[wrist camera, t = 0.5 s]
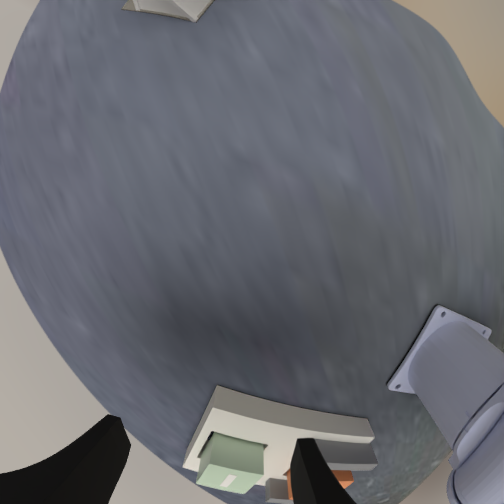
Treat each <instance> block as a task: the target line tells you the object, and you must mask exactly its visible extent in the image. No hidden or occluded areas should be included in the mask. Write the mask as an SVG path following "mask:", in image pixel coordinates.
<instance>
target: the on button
mask: <svg viewBox="0 0 504 504" xmlns="http://www.w3.org/2000/svg"><path fill="white" fill-rule="evenodd" d="M263 475H264V452H263V444H262V443H257V442H253V441H248V440H244V439H240V438H236V437H232V436H228V435H224V434H221V433H217V432H214V433H213V435H212V437H211V439H210V440H209V442H208V444H207V446H206V447H205V449H204V451H203V453H202V454H201V459H200V464H199V470H198V475H197V480H196V484H199V485H203V486H207V487H211V488H216V489H220V490H225V491H230V492H235V493H241V494H245V493H246V492H247V491H248V490H249V489H250V488H251V487H252V486H253V485H254V484H255V483H256V482H257V481H258V480H259V479H260V478H261V477H262V476H263Z"/></svg>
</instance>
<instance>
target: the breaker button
mask: <svg viewBox="0 0 504 504" xmlns="http://www.w3.org/2000/svg"><path fill="white" fill-rule="evenodd" d="M331 471H332V472H333V474H334V475H335V477H336V478H337V480H338V481H339V483H340V484H341V485H342V487H343V488H344V489H345V488H346V487H347V486H349V485H350V484H351V483H352V482H354V480H353V476H352V473H351V470H331ZM287 484H288V496H289V499H290V500H293V496H292V489H291V477H290V469H289V470H288V471H287Z"/></svg>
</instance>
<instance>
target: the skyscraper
mask: <svg viewBox="0 0 504 504" xmlns="http://www.w3.org/2000/svg"><path fill="white" fill-rule="evenodd" d="M214 1H215V0H128V1H127V3H126V4H125V5H124V6H123V8H122V10H129V11H138V12H145V13H152V14H158V15H164V16H169V17H174V18H179V19H183V20H188V21H192V22H196V23H197V21H198V20H199V19H200V17H201V16H202V15H203V14H204V12H205V11H206V10H207V9H208V8H209V6H210V5H211V4H212V3H213V2H214Z"/></svg>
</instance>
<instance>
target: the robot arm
mask: <svg viewBox="0 0 504 504" xmlns="http://www.w3.org/2000/svg"><path fill="white" fill-rule="evenodd" d="M442 312H443V314H442ZM441 314H442V315H441ZM490 335H491V329H490V328H488V327H486V326H484V325H482V324H480V323H478V322H475V321H473V320H471V319H469V318H467V317H465V316H463V315H460V314H458V313H456V312H454V311H452V310H450V309H447V308H445V307H443V306H441V305H438V306H436V307H435V308H434V310H433V311H432V313H431V315H430V317H429V319H428V321H427V323H426V324H425V326H424V328H423V330H422V331H421V333H420V335H419V336H418V338H417V340H416V342H415V343H414V345H413V346H412V348H411V350H410V351H409V353H408V354H407V356H406V358H405V359H404V361H403V362H402V364H401V365H400V367H399V368H398V370H397V371H396V372H395V374H394V375H393V377H392V378H391V380H390V381H389V382H388V384H387V387H388V389H389V390H393V391H399V392H405V393H412V394H417V396H418V397H419V399H420V400H421V402H422V403H423V405H424V406H425V408H426V409H427V411H428V412H429V414H430V416H431V417H432V419H433V420H434V422H435V423H436V425H437V426H438V428H439V429H440V431H441V433H442V434H443V436H444V437H445V439H446V441H447V442H448V444H449V445H450V447H451V449H452V450H453V454H452V456H451V457H450V458H449V460H448V461H449V463H450V464H451V466H452V468H453V470H452V472H451V473H450V475H449V478H448V482H447V496H448V499H449V502H450V504H504V353H503V352H502V351H500V350H499V349H498V348H497V347H496V346H494V345H493V344H492V343H491V342H489V341H488V338H489V337H490ZM130 448H131V444H130V441H129V439H128V436H127V434H126V431H125V429H124V426H123V424H122V421H121V418H120V417H116V416H113V415H109V414H108V415H106V416H105V417H104V418H103V419H101V420H100V421H99V422H98V423H97V424H95V425H94V426H93V427H92V428H90V429H89V430H88V431H87V432H86V433H84V434H83V435H82V436H80V437H79V438H78V439H76V440H75V441H74V442H72V443H71V444H70V445H69V446H67V447H65V448H64V449H62V450H60V451H59V452H57V453H56V454H54V455H52V456H50V457H49V458H47V459H45V460H43V461H41V462H38V463H36V464H33V465H31V466H28V467H26V468H23V469H20V470H15V471H12V472H7V473H2V474H0V504H108V503H109V500H110V498H111V495H112V493H113V491H114V489H115V486H116V484H117V482H118V480H119V478H120V476H121V474H122V471H123V469H124V467H125V465H126V462H127V458H128V455H129V451H130ZM290 477H291V489H292V496H293V502H294V504H356V503H355V502H354V500H353V499H352V498H351V497H350V496H349V494H348V493H347V492H346V491H345V489H344V488H343V487H342V485H341V484H340V483H339V481H338V480H337V478H336V477H335V475H334V474H333V472H332V471H331V469H330V468H329V466H328V464H327V463H326V461H325V459H324V457H323V455H322V454H321V452H320V450H319V448H318V446H317V443H316V441H315V439H314V438H297V441H296V445H295V449H294V452H293V456H292V459H291V463H290Z"/></svg>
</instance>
